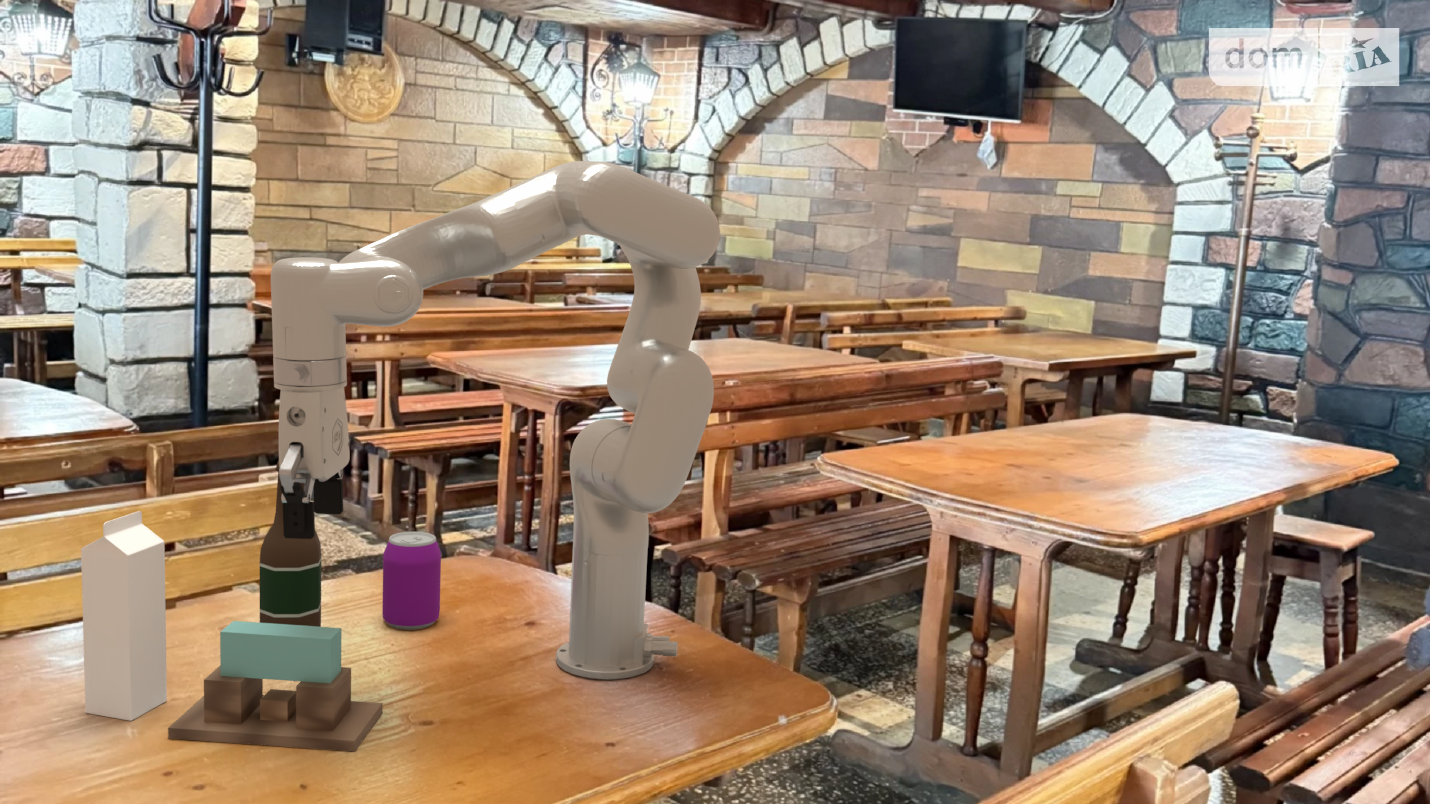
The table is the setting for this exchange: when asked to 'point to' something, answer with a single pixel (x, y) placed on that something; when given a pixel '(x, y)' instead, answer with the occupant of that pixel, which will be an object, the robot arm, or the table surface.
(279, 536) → the beer bottle
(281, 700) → the ledge stand
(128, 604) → the milk
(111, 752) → the table surface
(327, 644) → the teal bar
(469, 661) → the table surface
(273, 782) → the table surface
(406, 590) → the beverage can
